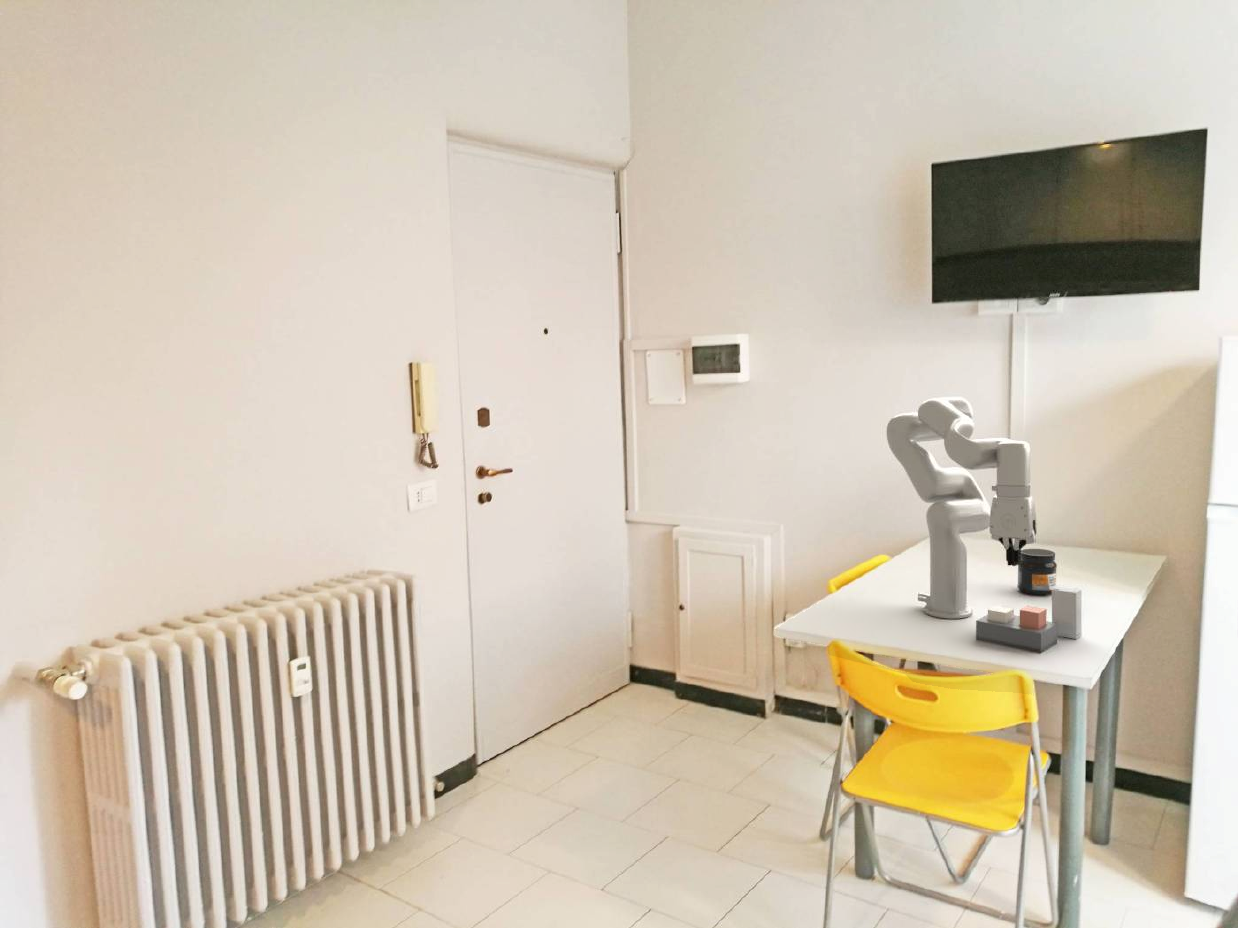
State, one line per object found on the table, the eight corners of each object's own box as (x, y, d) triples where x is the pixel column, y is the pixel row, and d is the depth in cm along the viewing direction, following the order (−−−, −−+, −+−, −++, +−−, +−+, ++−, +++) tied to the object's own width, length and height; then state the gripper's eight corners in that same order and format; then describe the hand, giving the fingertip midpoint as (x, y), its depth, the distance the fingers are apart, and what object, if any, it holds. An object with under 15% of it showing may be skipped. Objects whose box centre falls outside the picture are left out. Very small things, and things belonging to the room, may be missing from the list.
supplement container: (1060, 596, 265) (1061, 556, 263) (1021, 596, 267) (1022, 556, 266) (1051, 587, 275) (1052, 548, 274) (1013, 586, 277) (1014, 547, 276)
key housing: (976, 639, 231) (976, 620, 231) (993, 630, 238) (993, 611, 238) (1040, 653, 220) (1041, 633, 219) (1057, 642, 227) (1057, 623, 226)
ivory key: (987, 626, 232) (987, 609, 231) (995, 622, 235) (995, 605, 234) (1005, 630, 228) (1005, 612, 228) (1013, 625, 231) (1013, 608, 231)
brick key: (1019, 627, 226) (1019, 609, 225) (1027, 622, 229) (1027, 605, 228) (1038, 631, 222) (1038, 613, 222) (1046, 626, 226) (1046, 608, 225)
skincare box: (1082, 635, 231) (1083, 588, 230) (1076, 640, 228) (1077, 592, 227) (1056, 631, 236) (1057, 585, 234) (1050, 635, 232) (1051, 589, 231)
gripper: (976, 491, 228) (977, 563, 230) (1037, 495, 217) (1037, 571, 219) (990, 487, 233) (991, 558, 235) (1050, 491, 222) (1050, 565, 224)
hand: (1013, 564), depth 227 cm, fingers closed
